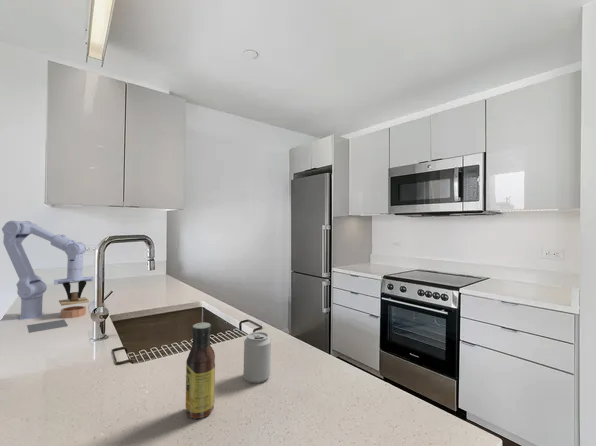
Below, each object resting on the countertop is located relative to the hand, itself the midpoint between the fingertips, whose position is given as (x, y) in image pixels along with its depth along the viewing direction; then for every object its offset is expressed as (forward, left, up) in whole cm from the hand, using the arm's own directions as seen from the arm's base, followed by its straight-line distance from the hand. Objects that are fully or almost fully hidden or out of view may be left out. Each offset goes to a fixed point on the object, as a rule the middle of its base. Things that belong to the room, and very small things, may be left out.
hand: (74, 298), depth 138 cm
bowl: (0, 0, -8) cm, 8 cm away
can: (+103, +28, -8) cm, 107 cm away
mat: (+11, -10, -8) cm, 17 cm away
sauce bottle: (+107, +9, -8) cm, 108 cm away
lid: (0, 0, -2) cm, 2 cm away
